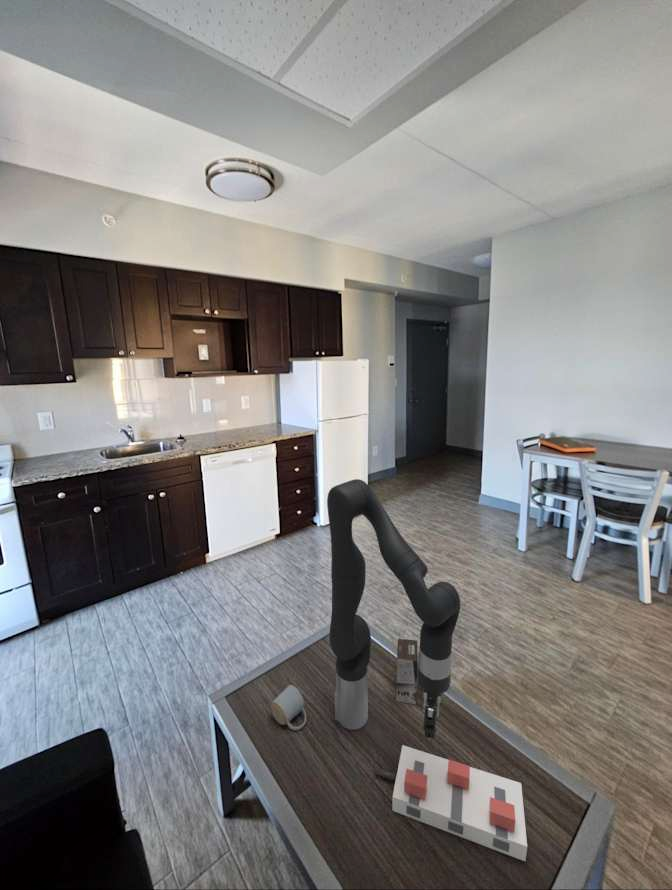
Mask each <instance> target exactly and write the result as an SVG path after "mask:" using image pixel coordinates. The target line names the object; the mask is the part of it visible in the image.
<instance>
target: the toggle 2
mask: <svg viewBox="0 0 672 890" xmlns="http://www.w3.org/2000/svg"><path fill="white" fill-rule="evenodd" d="M447 760H448V775H447V783H450V784H453V785H456V786H459V787H462V788H465V789H468V790H469V779H470V767H471V766H470V765H468V764H465V763H460V762H459V761H455V760H452V759H447Z"/></svg>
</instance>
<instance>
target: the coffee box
mask: <svg viewBox="0 0 672 890" xmlns="http://www.w3.org/2000/svg"><path fill="white" fill-rule="evenodd" d="M396 649H397V650H396V652H397V653H396V702H401V703H407V704H413V705H416V704H417V692H418V691H417V690H418V689H417V687H418V680H417V670H418V652H419V649H418V640H415V639H406V638H405V639H403V638H398V639H397V647H396Z"/></svg>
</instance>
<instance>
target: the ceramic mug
mask: <svg viewBox="0 0 672 890" xmlns="http://www.w3.org/2000/svg"><path fill="white" fill-rule="evenodd" d="M305 706H306V704H305V700H304V696H303V695H302V693H301V692H300V690H299V689H298V687H296V686H295V685H293V684H288V686H286V688H285V689H284V690H283V691H281V693H279V695H278V696H276V698H275V699H274V700H273V701H272V703H271V704H270V712H271V714H272V716H273V718H274V719H275V721H276V722H277V723H278V724H279V725H282V726H285V725H287V726H288V727H289V728H290V729H291V730H293V731H300V730H301V729H302V728H304V727H305V724H306V722H307V713H306V711H305ZM300 713H302V715H303V719H304V720H303V723H302V724H300V725H298V726H294V725H293V724H292V723H291V721H292V719H294V718H295V717H296V716H297V715H298V714H300Z"/></svg>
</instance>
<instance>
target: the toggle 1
mask: <svg viewBox="0 0 672 890" xmlns="http://www.w3.org/2000/svg"><path fill="white" fill-rule="evenodd" d="M426 791H427V775H424V774H421V773H418V772H415V771H412V770H409V769H406V775H405V780H404V792H405V793H407V794H410V795H413V796H416V797H418V798H421V799H424V800H425V799H426Z"/></svg>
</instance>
